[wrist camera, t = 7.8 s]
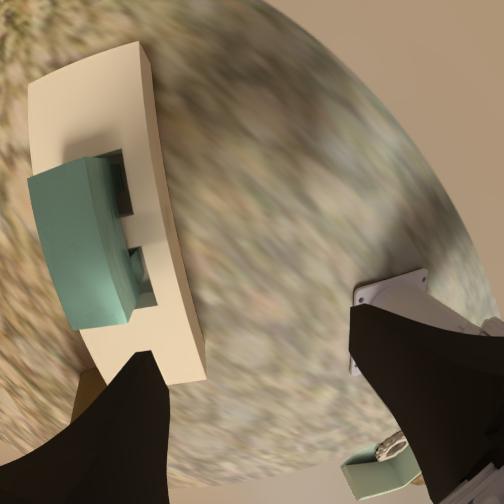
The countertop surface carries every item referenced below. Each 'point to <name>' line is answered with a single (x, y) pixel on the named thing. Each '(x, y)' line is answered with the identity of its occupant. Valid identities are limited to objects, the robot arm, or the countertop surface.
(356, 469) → the right angle wall
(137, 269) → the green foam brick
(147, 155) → the rail
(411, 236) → the countertop surface
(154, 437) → the robot arm
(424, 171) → the countertop surface
